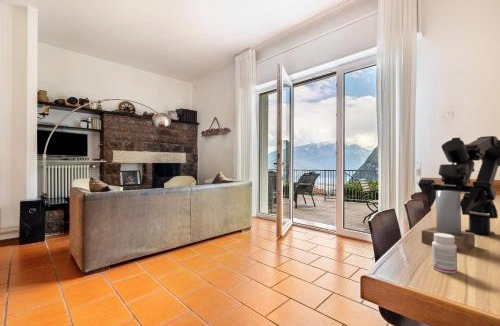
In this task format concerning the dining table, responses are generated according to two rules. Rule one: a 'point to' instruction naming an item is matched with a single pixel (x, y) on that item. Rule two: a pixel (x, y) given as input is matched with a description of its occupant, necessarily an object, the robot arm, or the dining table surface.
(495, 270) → the dining table surface
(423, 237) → the walnut box
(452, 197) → the grey cylinder
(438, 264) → the pill bottle
